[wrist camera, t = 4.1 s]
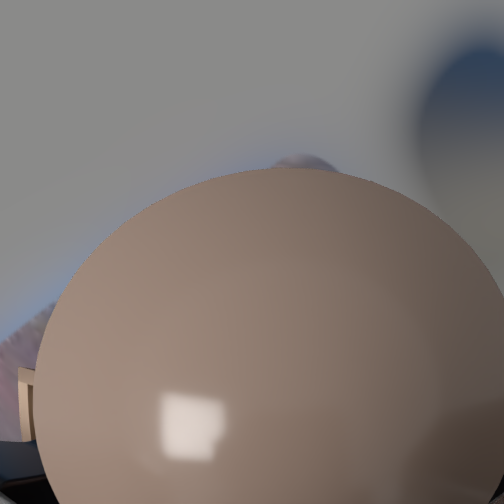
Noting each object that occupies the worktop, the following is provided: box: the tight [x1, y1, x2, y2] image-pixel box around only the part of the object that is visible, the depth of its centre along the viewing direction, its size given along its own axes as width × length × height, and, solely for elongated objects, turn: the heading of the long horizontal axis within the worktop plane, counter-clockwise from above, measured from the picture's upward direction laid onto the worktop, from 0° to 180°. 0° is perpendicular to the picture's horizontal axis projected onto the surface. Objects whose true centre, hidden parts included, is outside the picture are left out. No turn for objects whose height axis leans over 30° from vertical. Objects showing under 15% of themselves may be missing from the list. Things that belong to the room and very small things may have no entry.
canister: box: [33, 168, 504, 504], centre depth 8 cm, size 6×6×14 cm
